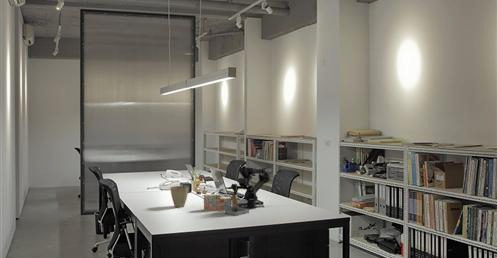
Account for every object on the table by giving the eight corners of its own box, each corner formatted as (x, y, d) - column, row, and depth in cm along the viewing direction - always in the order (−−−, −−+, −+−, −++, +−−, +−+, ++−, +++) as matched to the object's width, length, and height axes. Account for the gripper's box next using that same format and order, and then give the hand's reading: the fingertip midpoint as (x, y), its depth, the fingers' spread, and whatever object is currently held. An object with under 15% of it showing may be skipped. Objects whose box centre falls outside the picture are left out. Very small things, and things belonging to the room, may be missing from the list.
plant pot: (172, 209, 385) (172, 189, 385) (168, 205, 399) (168, 186, 399) (190, 207, 391) (190, 188, 391) (186, 204, 405) (186, 185, 404)
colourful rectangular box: (230, 208, 388) (230, 193, 388) (231, 209, 382) (231, 194, 382) (203, 209, 383) (203, 194, 383) (204, 211, 377) (204, 195, 377)
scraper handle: (236, 212, 368) (236, 194, 368) (240, 213, 363) (239, 195, 363) (230, 213, 366) (229, 195, 365) (233, 214, 361) (233, 196, 360)
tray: (237, 210, 377) (237, 207, 376) (248, 212, 368) (248, 209, 368) (224, 213, 366) (224, 210, 366) (235, 215, 358) (235, 212, 358)
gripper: (232, 173, 380) (225, 189, 370) (253, 174, 371) (246, 191, 361) (236, 182, 387) (230, 198, 377) (257, 183, 378) (251, 199, 369)
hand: (239, 196), depth 371 cm, fingers open, 9 cm apart
